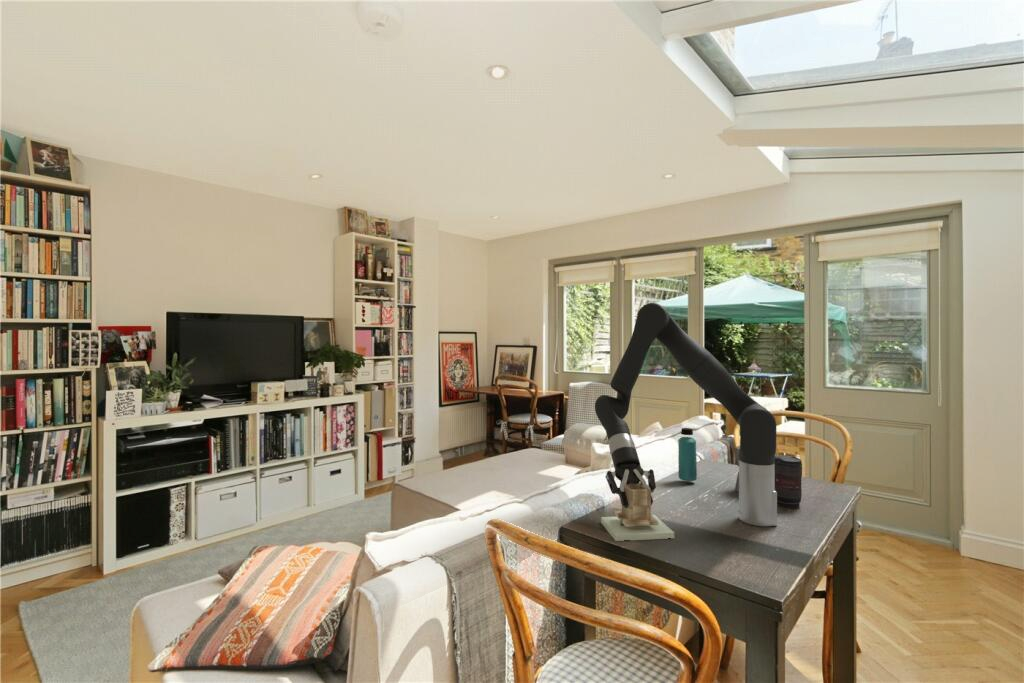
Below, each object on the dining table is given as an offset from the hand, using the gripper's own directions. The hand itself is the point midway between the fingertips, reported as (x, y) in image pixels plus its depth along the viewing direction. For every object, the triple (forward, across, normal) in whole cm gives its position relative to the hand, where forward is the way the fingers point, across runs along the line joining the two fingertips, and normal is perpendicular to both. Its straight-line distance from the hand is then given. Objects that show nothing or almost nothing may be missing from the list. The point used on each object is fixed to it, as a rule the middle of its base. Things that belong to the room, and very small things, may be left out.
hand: (638, 506), depth 130 cm
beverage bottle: (-24, +35, +35) cm, 55 cm away
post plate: (+4, 0, +6) cm, 7 cm away
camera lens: (-6, +55, +16) cm, 58 cm away
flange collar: (+2, 0, +4) cm, 5 cm away
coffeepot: (-16, +52, +27) cm, 61 cm away
